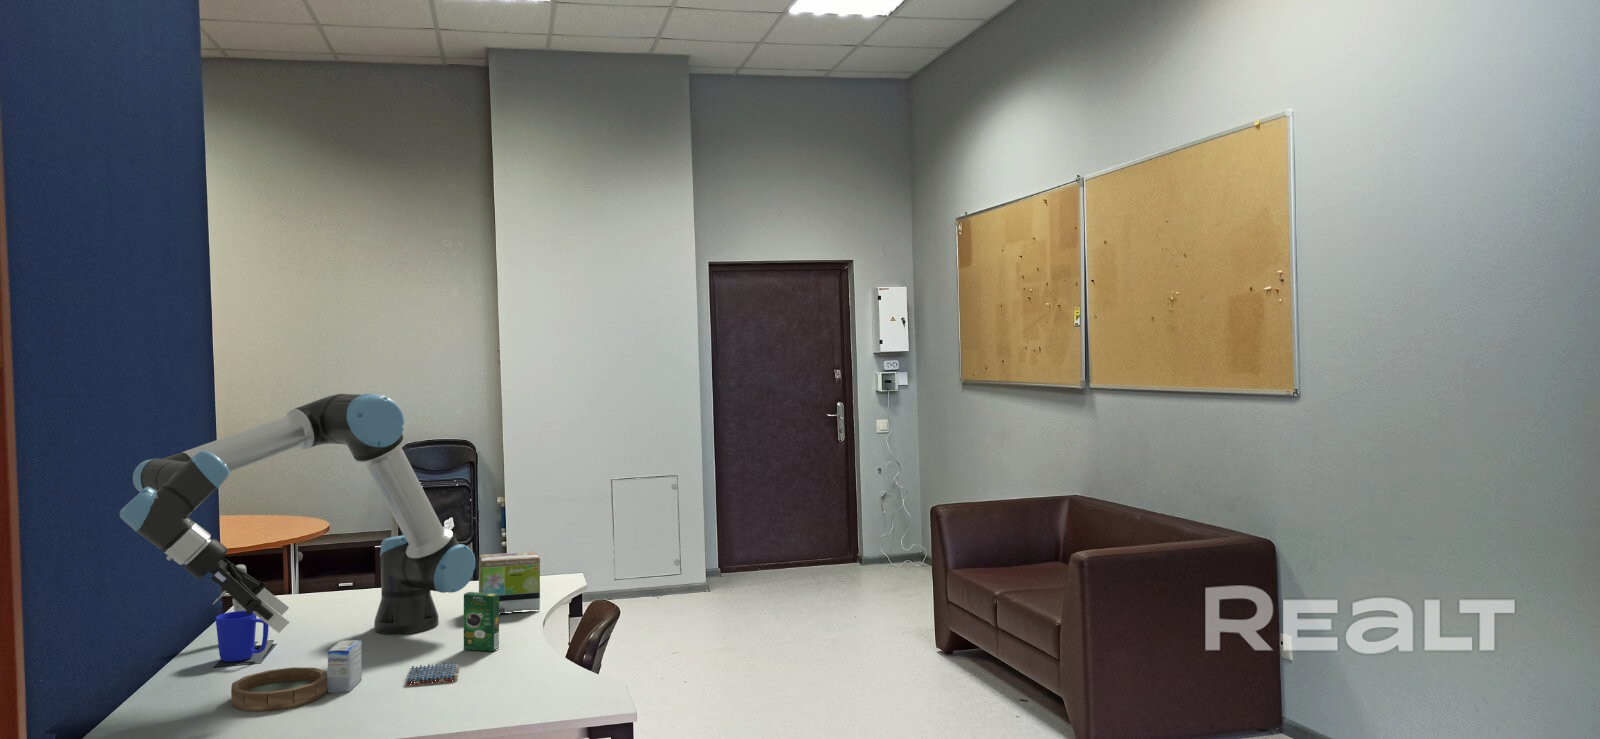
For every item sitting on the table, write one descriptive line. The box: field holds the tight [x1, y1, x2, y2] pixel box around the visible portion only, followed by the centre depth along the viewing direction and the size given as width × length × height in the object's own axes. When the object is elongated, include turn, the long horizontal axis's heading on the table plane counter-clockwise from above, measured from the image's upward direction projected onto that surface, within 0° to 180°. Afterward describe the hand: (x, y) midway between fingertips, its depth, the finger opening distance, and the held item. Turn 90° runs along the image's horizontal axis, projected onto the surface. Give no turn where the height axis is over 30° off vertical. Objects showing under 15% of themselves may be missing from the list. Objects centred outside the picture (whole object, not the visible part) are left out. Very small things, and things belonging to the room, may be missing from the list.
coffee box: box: [463, 591, 500, 652], centre depth 248 cm, size 8×3×13 cm, turn 77°
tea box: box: [478, 551, 541, 613], centre depth 287 cm, size 15×10×15 cm, turn 111°
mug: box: [215, 611, 270, 663], centre depth 243 cm, size 8×12×10 cm
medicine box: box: [327, 639, 363, 694], centre depth 222 cm, size 8×4×9 cm, turn 5°
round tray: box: [230, 667, 328, 712], centre depth 215 cm, size 17×17×3 cm
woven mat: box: [405, 662, 460, 687], centre depth 227 cm, size 10×11×2 cm
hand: (284, 620), depth 217 cm, fingers open, 13 cm apart
